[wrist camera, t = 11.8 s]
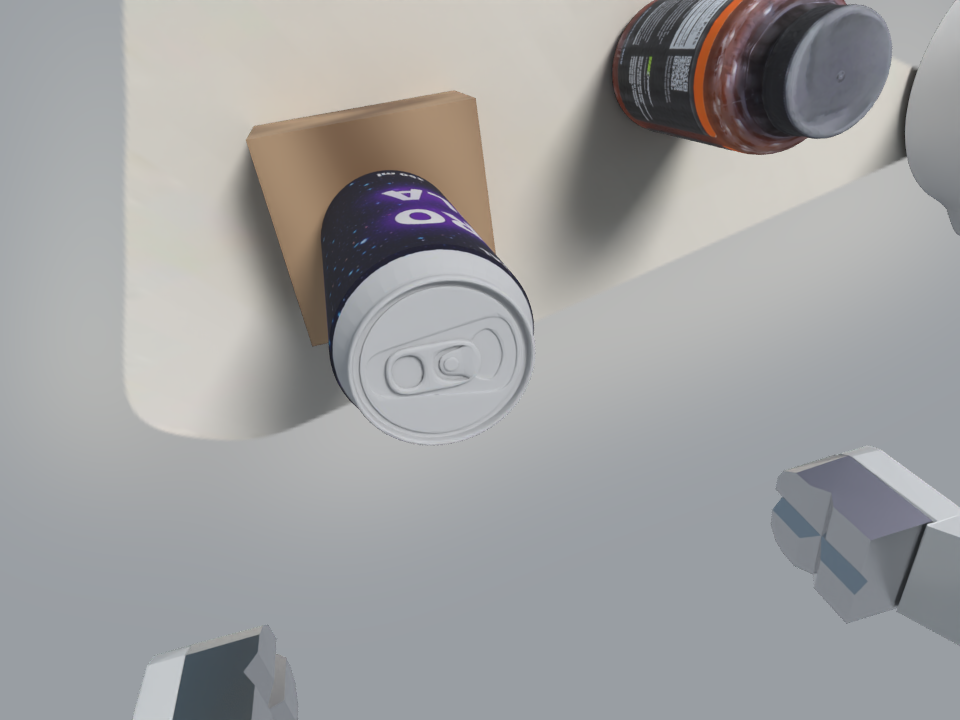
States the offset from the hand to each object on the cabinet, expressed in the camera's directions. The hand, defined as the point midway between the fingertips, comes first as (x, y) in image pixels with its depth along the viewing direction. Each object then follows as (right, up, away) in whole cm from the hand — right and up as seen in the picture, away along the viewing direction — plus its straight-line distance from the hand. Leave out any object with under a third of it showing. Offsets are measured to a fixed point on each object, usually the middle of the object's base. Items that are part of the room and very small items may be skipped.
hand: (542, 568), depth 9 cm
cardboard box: (-6, +11, +19) cm, 23 cm away
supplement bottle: (+8, +18, +20) cm, 28 cm away
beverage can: (-5, +9, +16) cm, 19 cm away
